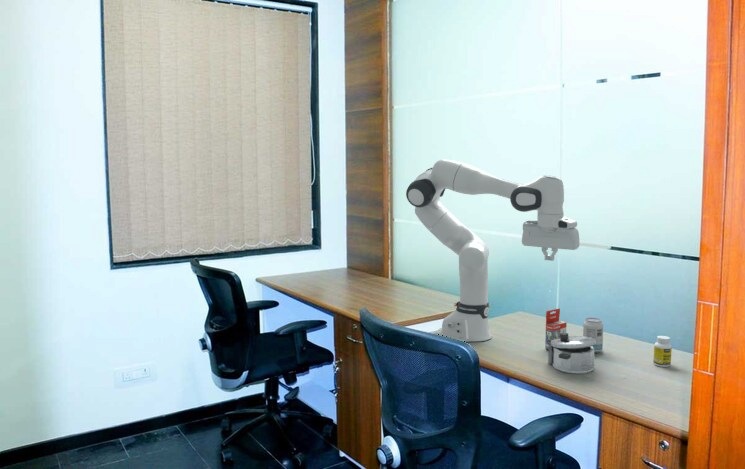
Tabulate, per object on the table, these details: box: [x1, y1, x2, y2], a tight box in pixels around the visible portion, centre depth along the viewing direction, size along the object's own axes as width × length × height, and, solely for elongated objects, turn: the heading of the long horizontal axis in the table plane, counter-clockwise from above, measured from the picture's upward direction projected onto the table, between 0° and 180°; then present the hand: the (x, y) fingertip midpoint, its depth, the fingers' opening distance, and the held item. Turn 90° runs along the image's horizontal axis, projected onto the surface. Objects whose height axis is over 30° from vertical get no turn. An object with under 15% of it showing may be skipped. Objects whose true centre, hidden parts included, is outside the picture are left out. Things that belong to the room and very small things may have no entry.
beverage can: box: [582, 317, 604, 354], centre depth 220 cm, size 7×7×12 cm
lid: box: [549, 332, 596, 349], centre depth 204 cm, size 15×15×4 cm
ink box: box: [545, 308, 568, 351], centre depth 224 cm, size 4×8×15 cm, turn 123°
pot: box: [547, 345, 595, 375], centre depth 205 cm, size 15×17×7 cm
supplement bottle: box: [652, 335, 673, 368], centre depth 205 cm, size 5×5×10 cm
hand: (549, 260), depth 212 cm, fingers closed
